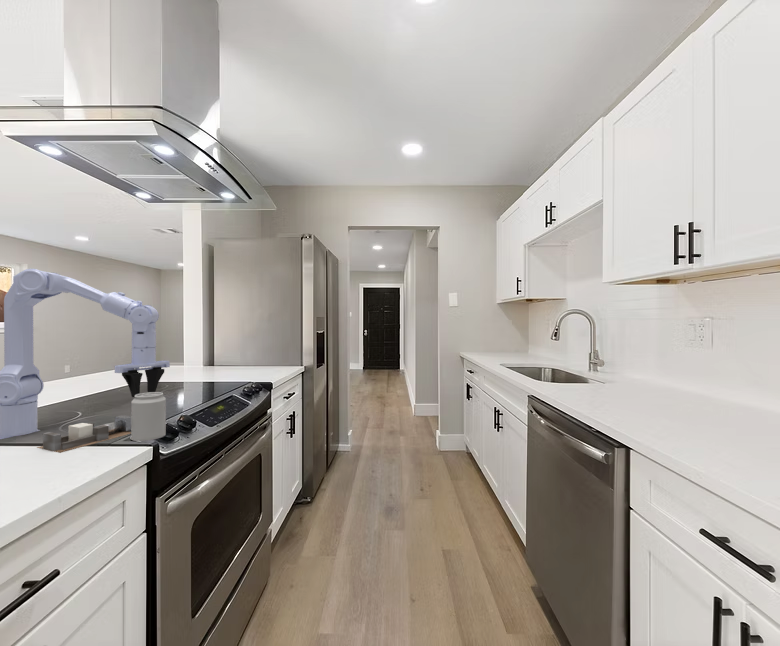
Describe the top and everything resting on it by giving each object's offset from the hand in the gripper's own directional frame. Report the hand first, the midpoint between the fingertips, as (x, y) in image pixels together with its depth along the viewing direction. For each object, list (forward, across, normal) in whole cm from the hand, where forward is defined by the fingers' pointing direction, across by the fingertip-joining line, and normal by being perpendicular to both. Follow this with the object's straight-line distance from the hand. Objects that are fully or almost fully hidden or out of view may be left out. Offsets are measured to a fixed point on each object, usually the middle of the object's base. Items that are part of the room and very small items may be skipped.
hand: (143, 395), depth 105 cm
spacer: (+8, -16, 0) cm, 18 cm away
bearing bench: (+9, -14, 0) cm, 17 cm away
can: (+10, -6, -11) cm, 16 cm away
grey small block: (+8, -8, 0) cm, 12 cm away
